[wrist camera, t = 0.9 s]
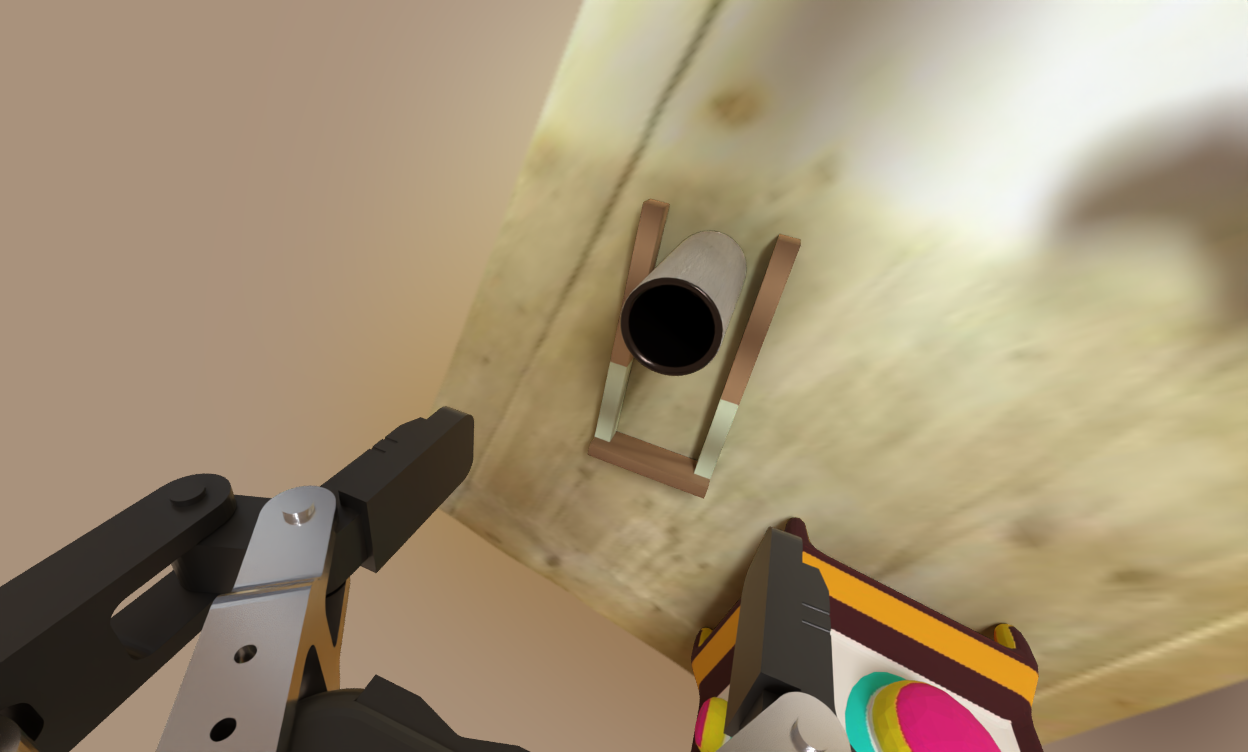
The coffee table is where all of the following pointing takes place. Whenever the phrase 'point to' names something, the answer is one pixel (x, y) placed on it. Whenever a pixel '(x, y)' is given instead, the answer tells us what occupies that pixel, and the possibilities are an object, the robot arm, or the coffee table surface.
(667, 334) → the grey hollow cylinder
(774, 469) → the coffee table surface
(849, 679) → the decorative lantern
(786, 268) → the guide channel
